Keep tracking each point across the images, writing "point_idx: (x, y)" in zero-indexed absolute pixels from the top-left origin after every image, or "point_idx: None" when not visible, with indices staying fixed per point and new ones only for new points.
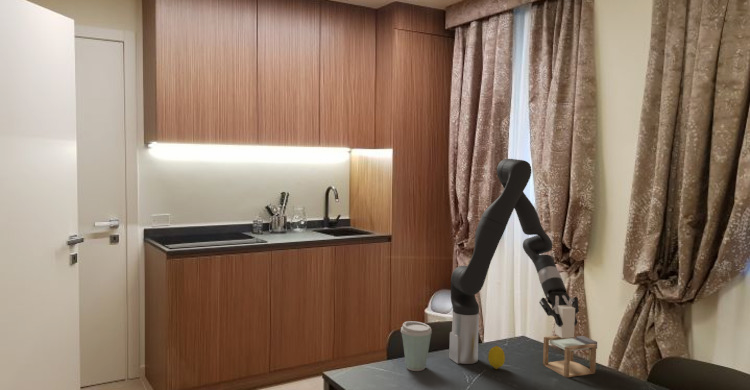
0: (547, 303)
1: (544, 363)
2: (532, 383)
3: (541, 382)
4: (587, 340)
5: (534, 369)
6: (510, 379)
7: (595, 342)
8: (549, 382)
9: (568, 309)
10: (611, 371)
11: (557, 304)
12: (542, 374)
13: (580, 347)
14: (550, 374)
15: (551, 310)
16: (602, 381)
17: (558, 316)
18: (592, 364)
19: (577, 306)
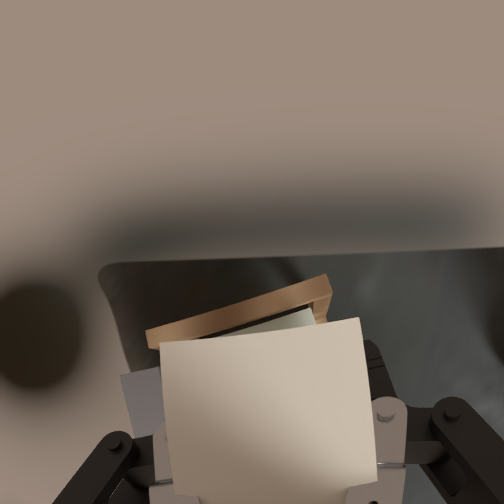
0: (502, 487)
1: None
2: (444, 249)
3: (417, 258)
4: (155, 402)
5: (410, 378)
6: (496, 277)
7: (130, 373)
8: (392, 259)
9: (266, 335)
10: (134, 358)
11: (369, 499)
12: (397, 330)
13: (242, 302)
14: (368, 333)
15: (453, 411)
16: (207, 274)
17: (370, 380)
18: (196, 339)
19: (84, 476)
